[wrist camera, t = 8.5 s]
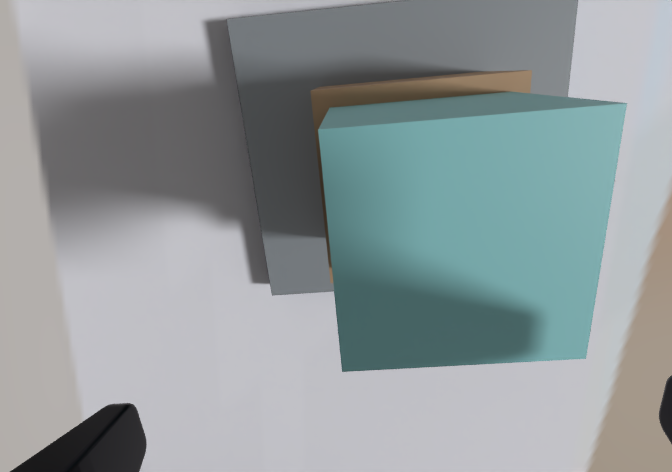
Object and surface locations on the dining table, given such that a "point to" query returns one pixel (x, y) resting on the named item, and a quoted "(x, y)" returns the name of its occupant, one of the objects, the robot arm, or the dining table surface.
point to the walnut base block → (406, 92)
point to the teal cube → (467, 226)
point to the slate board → (360, 67)
